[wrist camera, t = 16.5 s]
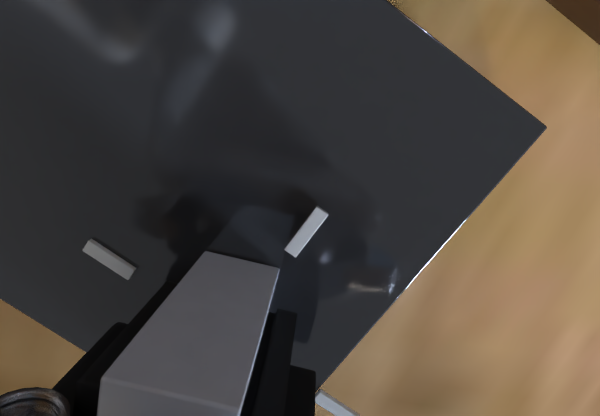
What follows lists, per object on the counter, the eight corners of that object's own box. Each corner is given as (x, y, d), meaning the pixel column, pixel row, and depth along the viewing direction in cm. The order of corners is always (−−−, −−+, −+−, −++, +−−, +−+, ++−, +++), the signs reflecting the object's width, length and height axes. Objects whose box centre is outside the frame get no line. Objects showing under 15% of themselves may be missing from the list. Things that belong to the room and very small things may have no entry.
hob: (-100, 206, 13) (-202, 230, 11) (80, -206, 10) (-2, -311, 8) (278, 445, 15) (268, 516, 12) (538, 151, 12) (599, 163, 9)
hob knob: (204, 249, 10) (88, 390, 5) (280, 267, 10) (237, 424, 5) (179, 396, 12) (64, 625, 6) (247, 412, 12) (186, 654, 6)
